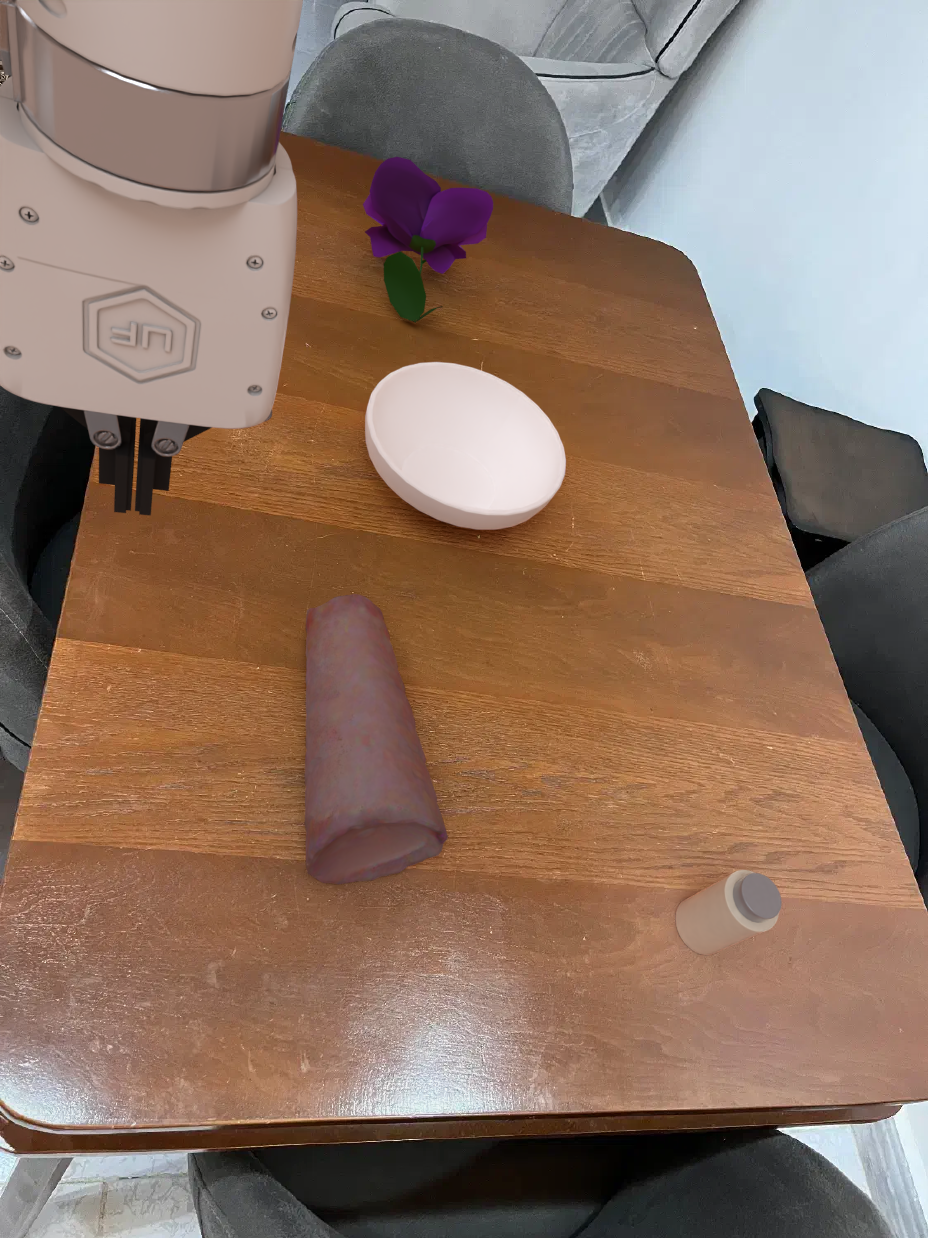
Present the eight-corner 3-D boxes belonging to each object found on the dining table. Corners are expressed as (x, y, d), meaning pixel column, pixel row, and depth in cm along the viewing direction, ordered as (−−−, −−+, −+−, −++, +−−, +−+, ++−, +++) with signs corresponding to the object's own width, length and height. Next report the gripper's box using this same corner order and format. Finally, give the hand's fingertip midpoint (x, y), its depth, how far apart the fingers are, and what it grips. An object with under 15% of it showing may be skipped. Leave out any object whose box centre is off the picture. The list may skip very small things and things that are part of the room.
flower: (457, 359, 104) (466, 257, 105) (499, 305, 90) (509, 188, 91) (340, 333, 99) (351, 227, 101) (365, 272, 85) (377, 150, 87)
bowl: (308, 469, 79) (322, 414, 73) (429, 389, 91) (448, 335, 85) (468, 598, 76) (495, 550, 71) (571, 497, 88) (600, 450, 83)
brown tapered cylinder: (427, 872, 61) (466, 829, 54) (298, 892, 57) (321, 850, 50) (373, 625, 71) (400, 563, 64) (261, 630, 68) (276, 564, 61)
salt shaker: (684, 958, 64) (746, 930, 57) (668, 899, 66) (726, 866, 59) (732, 952, 65) (798, 924, 59) (714, 895, 67) (776, 862, 61)
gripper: (-174, 77, 21) (-65, 539, 35) (406, 219, 26) (297, 568, 40) (-111, -51, 25) (-36, 410, 39) (381, 96, 30) (290, 453, 44)
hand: (134, 490), depth 39 cm, fingers closed
